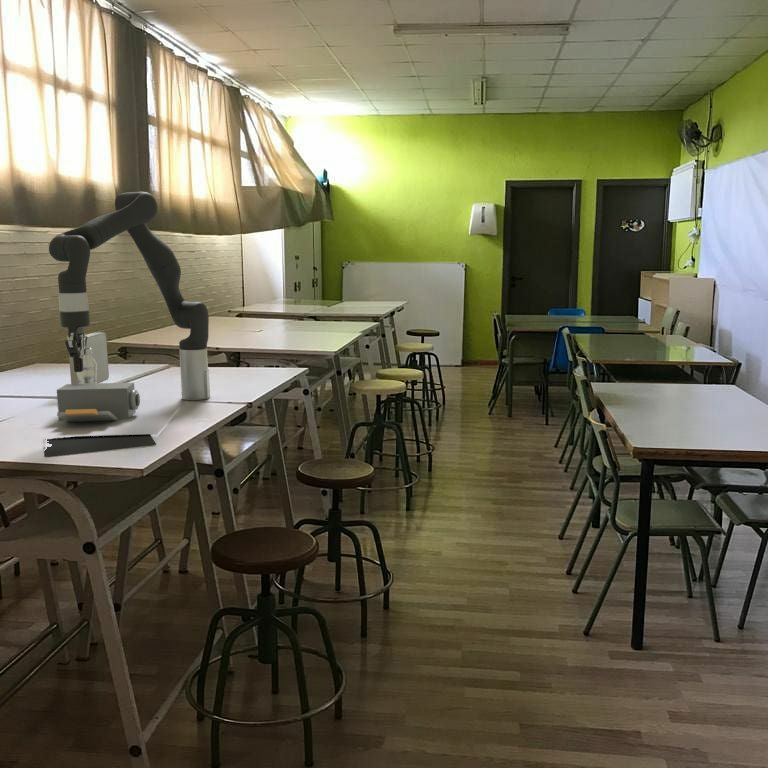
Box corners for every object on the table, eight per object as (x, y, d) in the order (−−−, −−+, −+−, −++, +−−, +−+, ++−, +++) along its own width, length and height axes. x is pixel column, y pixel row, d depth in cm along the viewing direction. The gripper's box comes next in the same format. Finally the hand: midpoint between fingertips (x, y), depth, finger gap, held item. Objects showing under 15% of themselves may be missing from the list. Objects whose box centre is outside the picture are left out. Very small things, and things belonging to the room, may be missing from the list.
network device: (88, 395, 266) (84, 339, 263) (64, 395, 267) (60, 339, 263) (115, 383, 292) (111, 332, 288) (92, 383, 292) (89, 332, 288)
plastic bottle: (93, 412, 237) (89, 349, 234) (74, 412, 239) (69, 349, 235) (104, 408, 243) (100, 347, 240) (86, 408, 245) (81, 346, 241)
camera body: (142, 414, 235) (141, 382, 233) (136, 421, 225) (134, 388, 224) (69, 416, 233) (66, 384, 231) (59, 423, 223) (56, 389, 221)
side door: (117, 417, 224) (106, 408, 211) (117, 421, 224) (106, 412, 211) (68, 418, 222) (54, 409, 210) (68, 422, 222) (54, 414, 209)
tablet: (147, 428, 214) (157, 444, 196) (147, 431, 214) (157, 447, 196) (43, 439, 203) (44, 457, 185) (43, 442, 203) (44, 460, 185)
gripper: (81, 311, 201) (86, 375, 204) (94, 307, 214) (99, 367, 217) (52, 311, 200) (57, 375, 203) (67, 307, 213) (72, 368, 216)
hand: (79, 371), depth 210 cm, fingers closed
